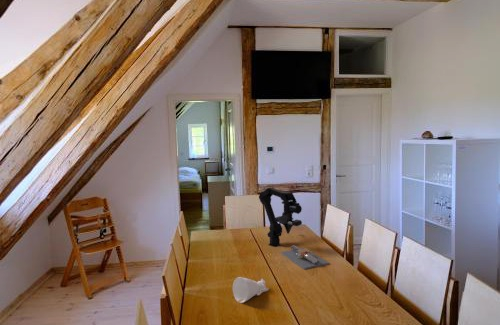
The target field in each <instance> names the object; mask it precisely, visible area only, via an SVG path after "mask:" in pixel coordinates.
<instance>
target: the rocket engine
mask: <svg viewBox="0 0 500 325" xmlns="http://www.w3.org/2000/svg"><path fill="white" fill-rule="evenodd" d="M268 291H269V287H267V286H266V281H265V280H264V278H261V279H260V280H257V281H256V280H253V279H250V278H247V277H241V276H238V277H236V278H235V279H234V281H233V284H232V294H233V296H234V299H235V301H237V302H238V303H241V304H243V303H245V302H247V301H249V300H250V299H251V298H253V297H254V296H260V295H261V294H262V293H264V292H268Z"/></svg>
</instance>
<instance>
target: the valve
mask: <svg viewBox="0 0 500 325" xmlns="http://www.w3.org/2000/svg"><path fill="white" fill-rule="evenodd" d="M291 250H293V251H294V252H296V253H302V252H306V251H307V252H308V254H306V255H301V256H299V258H301V259H307V260H308V261H310V262H312V263H313V264H315V265H316V264H318V262H319V261H318V259H317V258H315V257H313V256H312V255H310V252H311V250H309V249H308V248H305V249H301V248H300V247H298V246H296V245H294V244H293V245H291Z"/></svg>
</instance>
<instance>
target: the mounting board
mask: <svg viewBox="0 0 500 325" xmlns="http://www.w3.org/2000/svg"><path fill="white" fill-rule="evenodd" d="M300 249H306V248H305V247H303V248H302V247H301V248H300ZM280 253H281V255H282V256H284V257H285V258H287V259H288V260H290V261H291V262H292V263H294V264H296V265H297V266H298V267H300V268H301V269H303V270H308V269H312V268H318V267H319V268H320V267H324V266H326V265H327V266H329V265H330V262H329V261H327V260H326V259H324V258H323V257H320V256H319V255H318V254H315V253H313V252H312V251H310V255H312V256H313V257H315V258H317V259H318V261H319V262H318V264H316V265H315V264H313V263H312V262H310V261H308V260H307V259H301V258H299V257H296V254H297V253H296V252H294V251H293V250H286V251H281V252H280Z"/></svg>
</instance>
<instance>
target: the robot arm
mask: <svg viewBox="0 0 500 325" xmlns="http://www.w3.org/2000/svg"><path fill="white" fill-rule="evenodd" d="M272 196H274V197H277V198H280V200H281V204H283V212H282V214H281V215H280V216H276V215H275V213H274V212H275V211H274V210H273V206H272V204H271V203H272ZM258 199H259V202H260V203H261V204H262V205H263V207H264V209H265V213H266V216H267V218H268V221H269V224H270V225H269V232H267V237H268V238H269V243H268V245H269V246H271V247H278V246H280V245H281V241H280V240H281V239H280V237H281V236H282V233H283V227H282V226H284V229H285V231H286V234H290V232H291V229H292V227H293V226H295V227H299V226H302V223H303V222H302V220H300V219H294V217H293V214H294V213H295V214H298V215H299V214H301V212H302V210H303V208H302V206H301V205H300V203H299V202H298V201H297V200H296V198H295V195H294V193H293V192H292V191H282V190H279V189H277V188H274V187H267V188H266V189H265V190H263V191H262V192H261V193H259V194H258Z"/></svg>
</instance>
